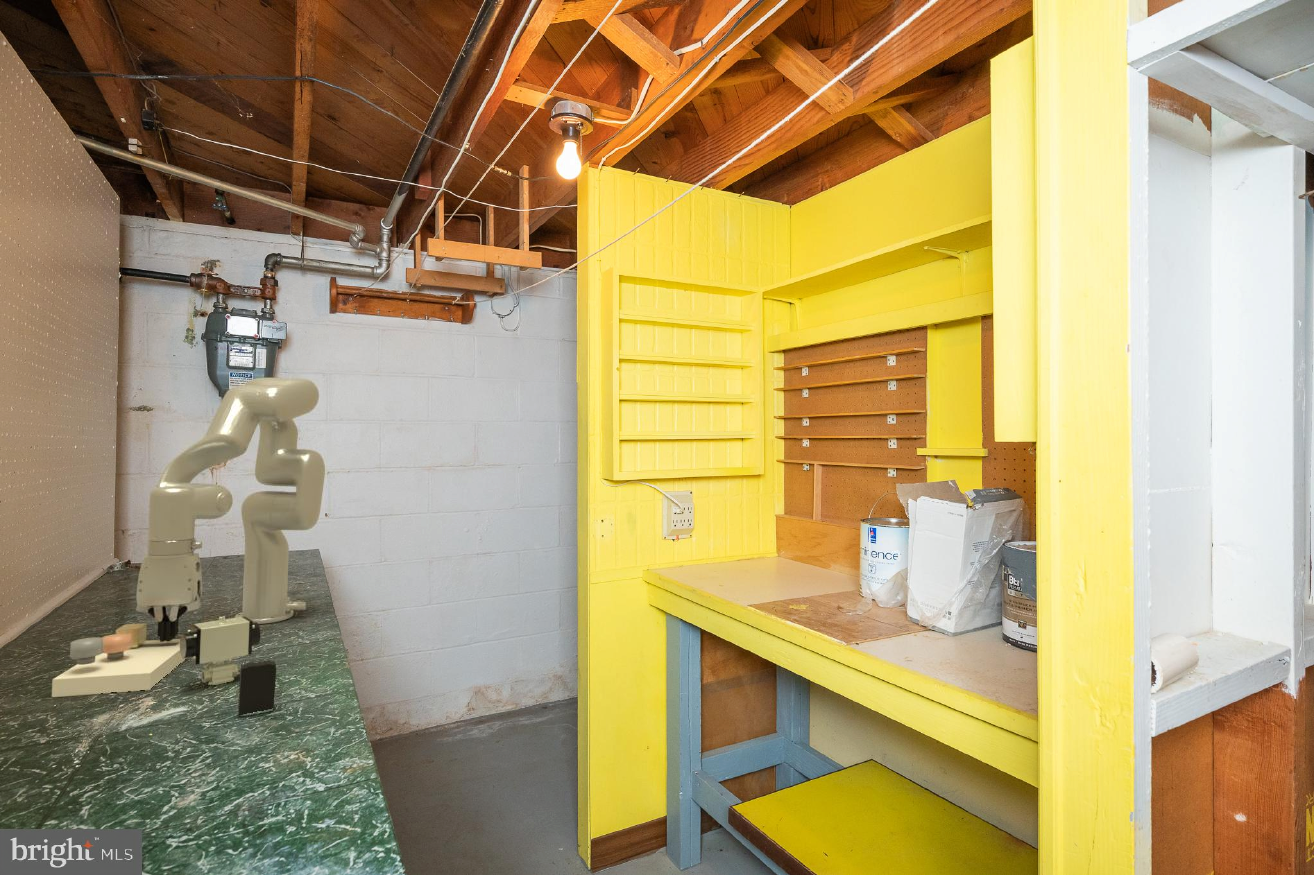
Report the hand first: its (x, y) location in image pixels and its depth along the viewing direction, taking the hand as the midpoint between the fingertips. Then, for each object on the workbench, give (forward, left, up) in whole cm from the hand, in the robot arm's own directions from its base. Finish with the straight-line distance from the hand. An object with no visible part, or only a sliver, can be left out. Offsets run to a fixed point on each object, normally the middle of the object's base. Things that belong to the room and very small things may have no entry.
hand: (167, 639), depth 133 cm
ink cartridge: (-23, +33, -4) cm, 41 cm away
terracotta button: (+6, +8, -1) cm, 10 cm away
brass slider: (+6, 0, -1) cm, 6 cm away
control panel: (+4, +7, -4) cm, 9 cm away
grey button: (+8, +14, 0) cm, 16 cm away
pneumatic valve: (-13, +16, -4) cm, 21 cm away
